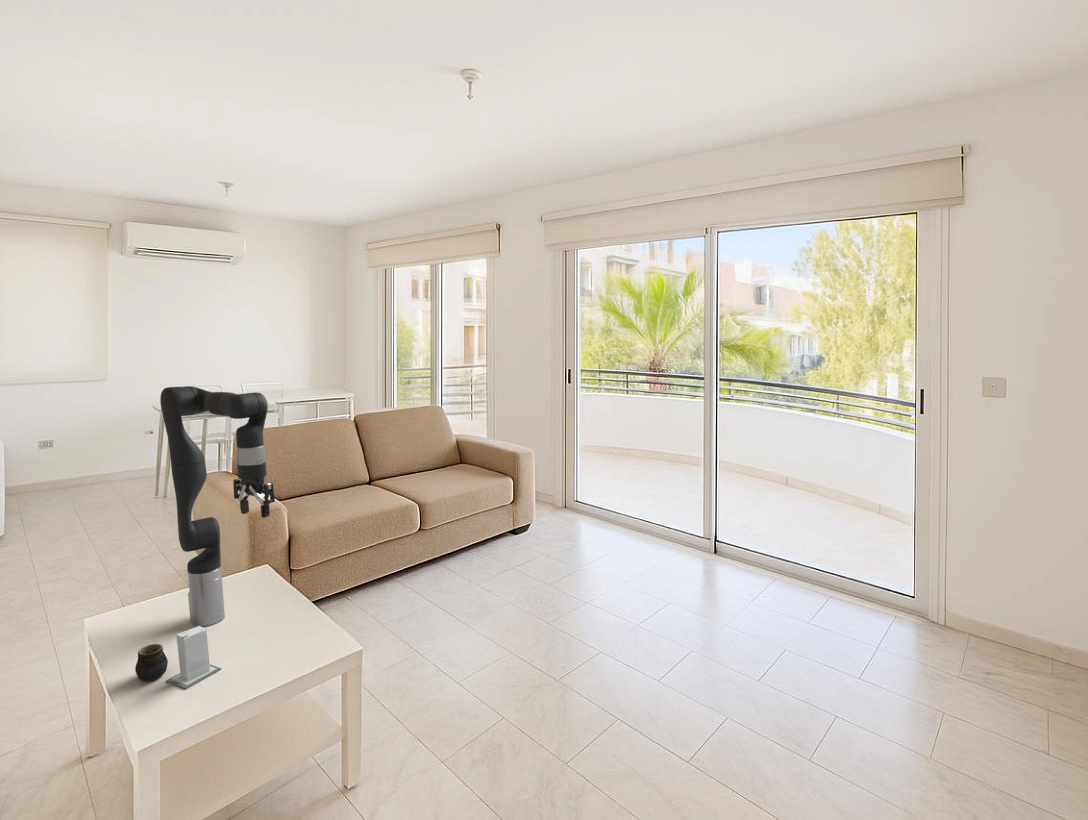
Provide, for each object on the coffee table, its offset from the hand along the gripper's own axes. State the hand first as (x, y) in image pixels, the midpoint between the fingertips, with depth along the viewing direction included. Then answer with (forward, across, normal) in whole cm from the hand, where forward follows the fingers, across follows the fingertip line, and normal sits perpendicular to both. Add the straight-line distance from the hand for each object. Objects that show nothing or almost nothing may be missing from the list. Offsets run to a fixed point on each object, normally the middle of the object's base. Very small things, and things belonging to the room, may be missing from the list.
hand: (255, 515), depth 176 cm
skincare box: (+38, +1, -22) cm, 44 cm away
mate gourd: (+38, -9, -28) cm, 48 cm away
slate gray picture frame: (+38, 0, -22) cm, 44 cm away
